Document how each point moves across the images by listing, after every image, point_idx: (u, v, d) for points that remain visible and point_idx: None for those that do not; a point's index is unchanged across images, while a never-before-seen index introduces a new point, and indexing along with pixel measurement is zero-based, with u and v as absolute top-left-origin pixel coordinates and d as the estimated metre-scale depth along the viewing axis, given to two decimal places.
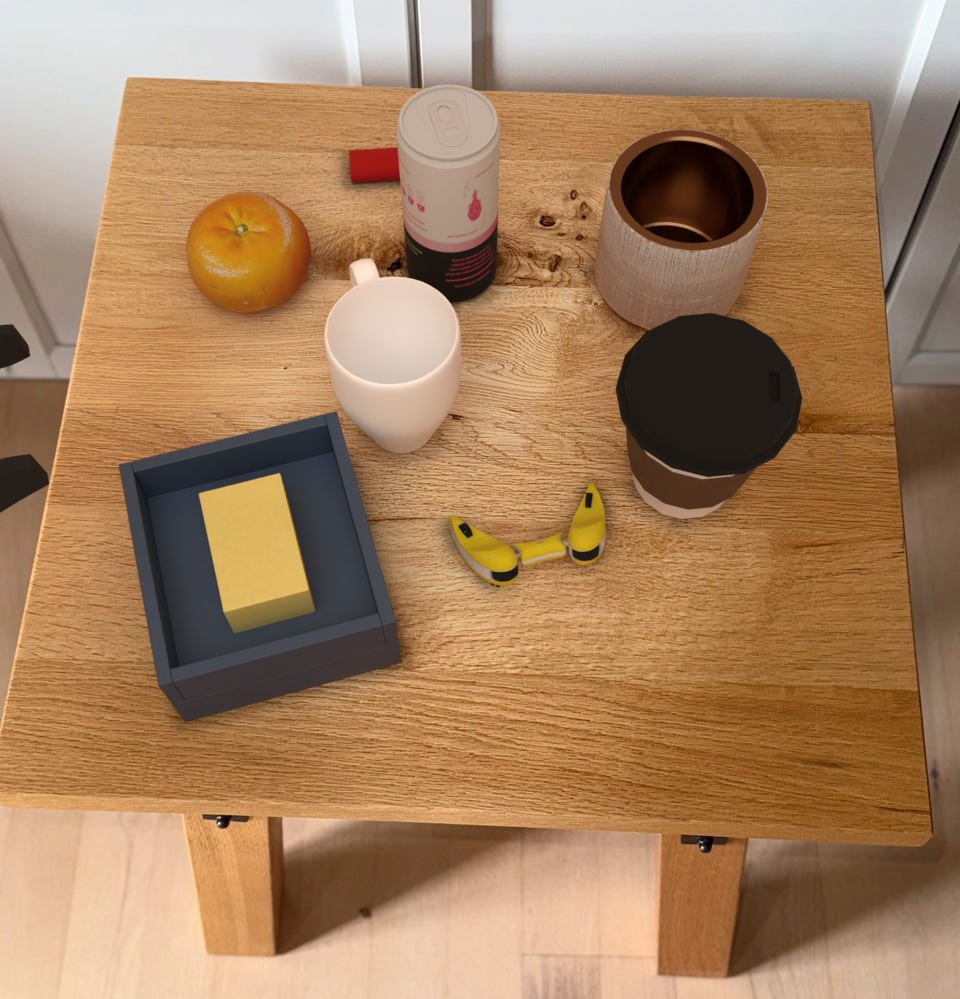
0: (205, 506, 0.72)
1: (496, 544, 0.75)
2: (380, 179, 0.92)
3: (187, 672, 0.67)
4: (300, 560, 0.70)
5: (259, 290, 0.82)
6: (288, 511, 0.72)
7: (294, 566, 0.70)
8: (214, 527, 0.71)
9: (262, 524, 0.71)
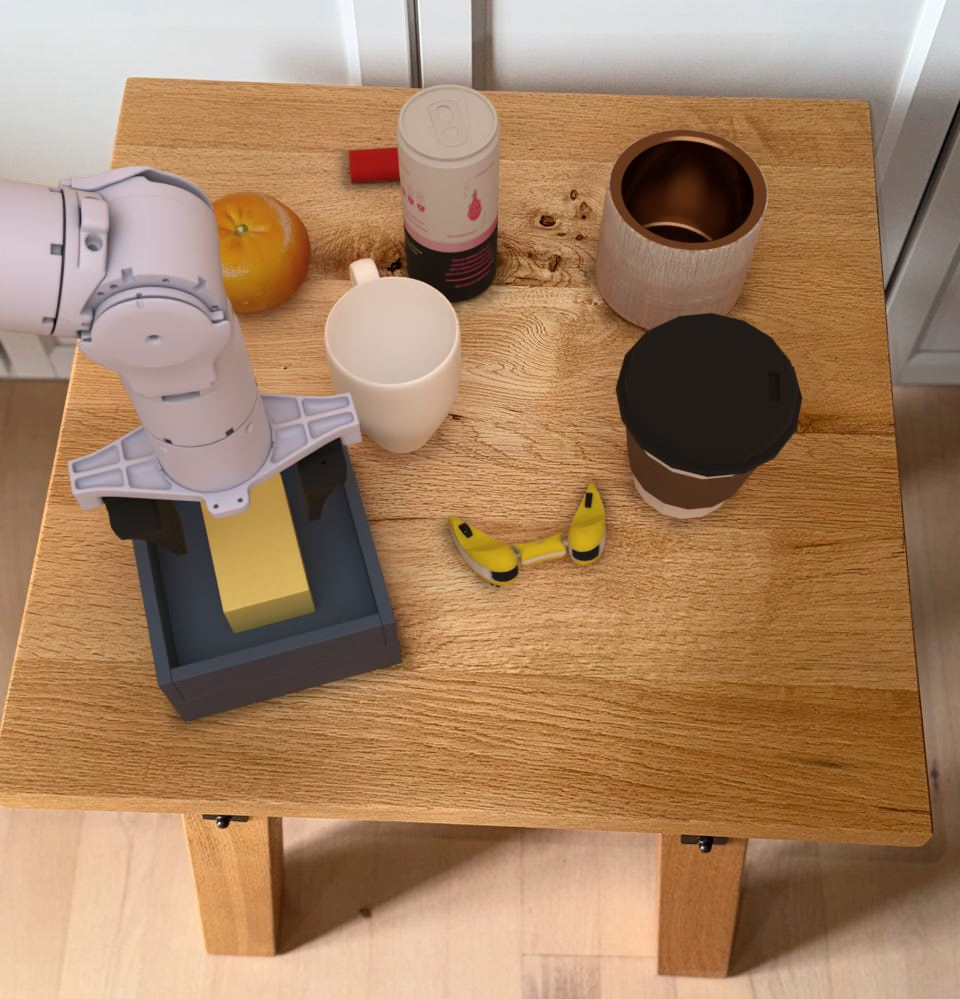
0: (205, 506, 0.72)
1: (496, 544, 0.75)
2: (380, 179, 0.92)
3: (187, 672, 0.67)
4: (300, 560, 0.70)
5: (259, 290, 0.82)
6: (288, 511, 0.72)
7: (294, 566, 0.70)
8: (214, 527, 0.71)
9: (262, 524, 0.71)
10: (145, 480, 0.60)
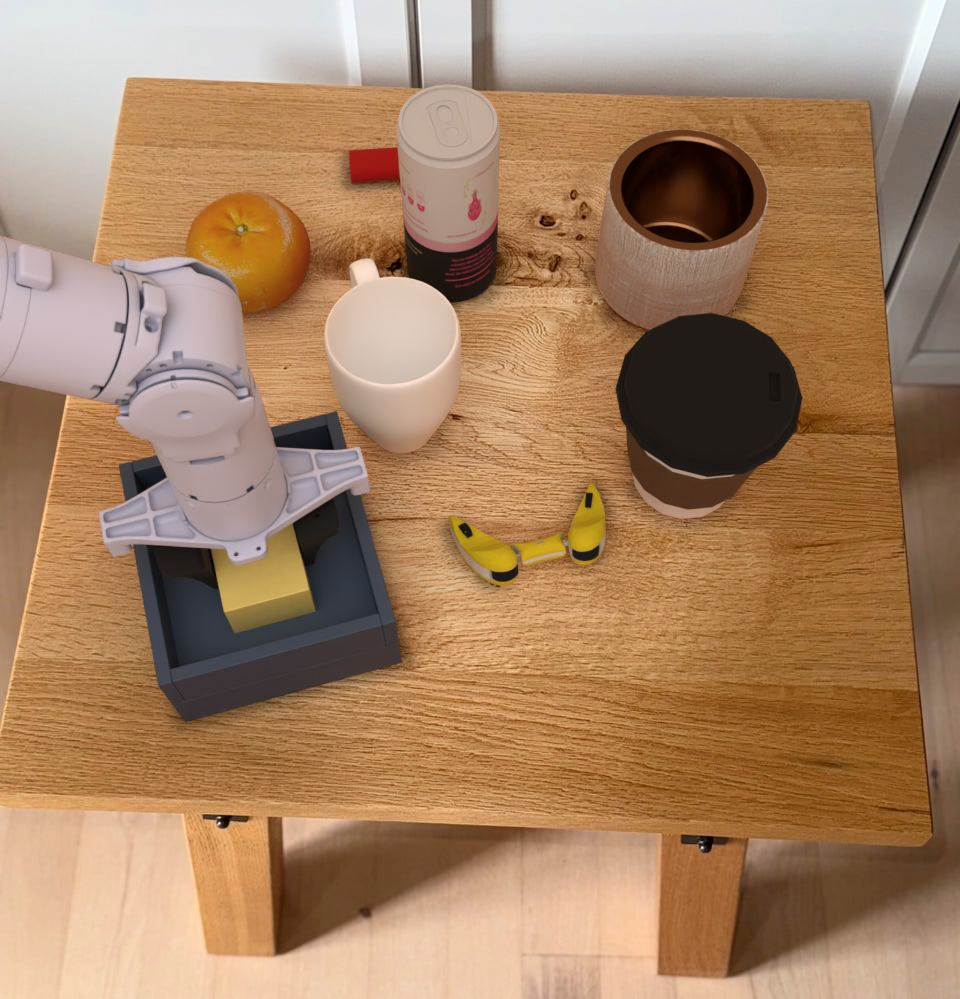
0: None
1: (496, 544, 0.75)
2: (380, 179, 0.92)
3: (187, 672, 0.67)
4: (300, 560, 0.70)
5: (259, 290, 0.82)
6: None
7: (295, 566, 0.70)
8: None
9: None
10: (170, 529, 0.65)
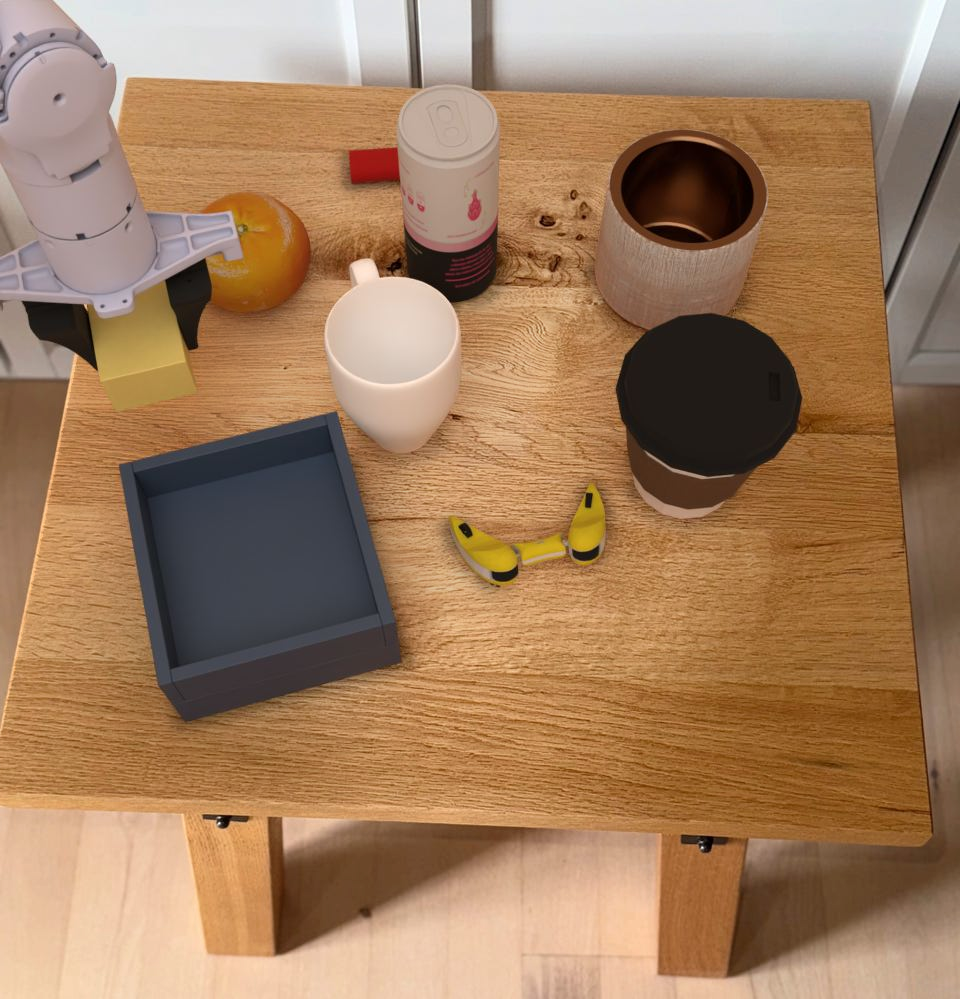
0: None
1: (496, 544, 0.75)
2: (380, 179, 0.92)
3: (187, 672, 0.67)
4: (179, 334, 0.71)
5: (259, 290, 0.82)
6: None
7: (172, 339, 0.70)
8: None
9: (142, 302, 0.72)
10: (39, 286, 0.65)
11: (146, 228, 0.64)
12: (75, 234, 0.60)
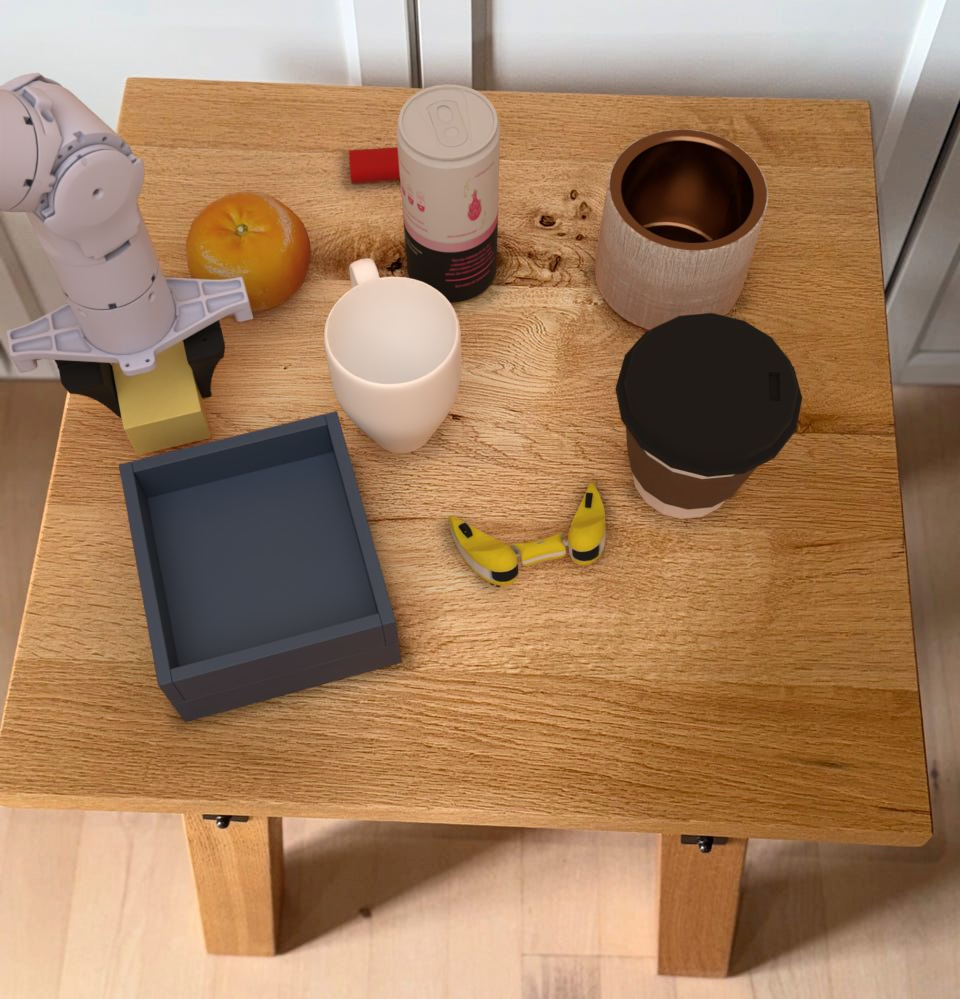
0: None
1: (496, 544, 0.75)
2: (380, 179, 0.92)
3: (187, 672, 0.67)
4: (194, 386, 0.78)
5: (259, 290, 0.82)
6: None
7: (189, 390, 0.78)
8: None
9: (161, 356, 0.79)
10: (70, 346, 0.73)
11: (166, 295, 0.71)
12: (107, 304, 0.68)
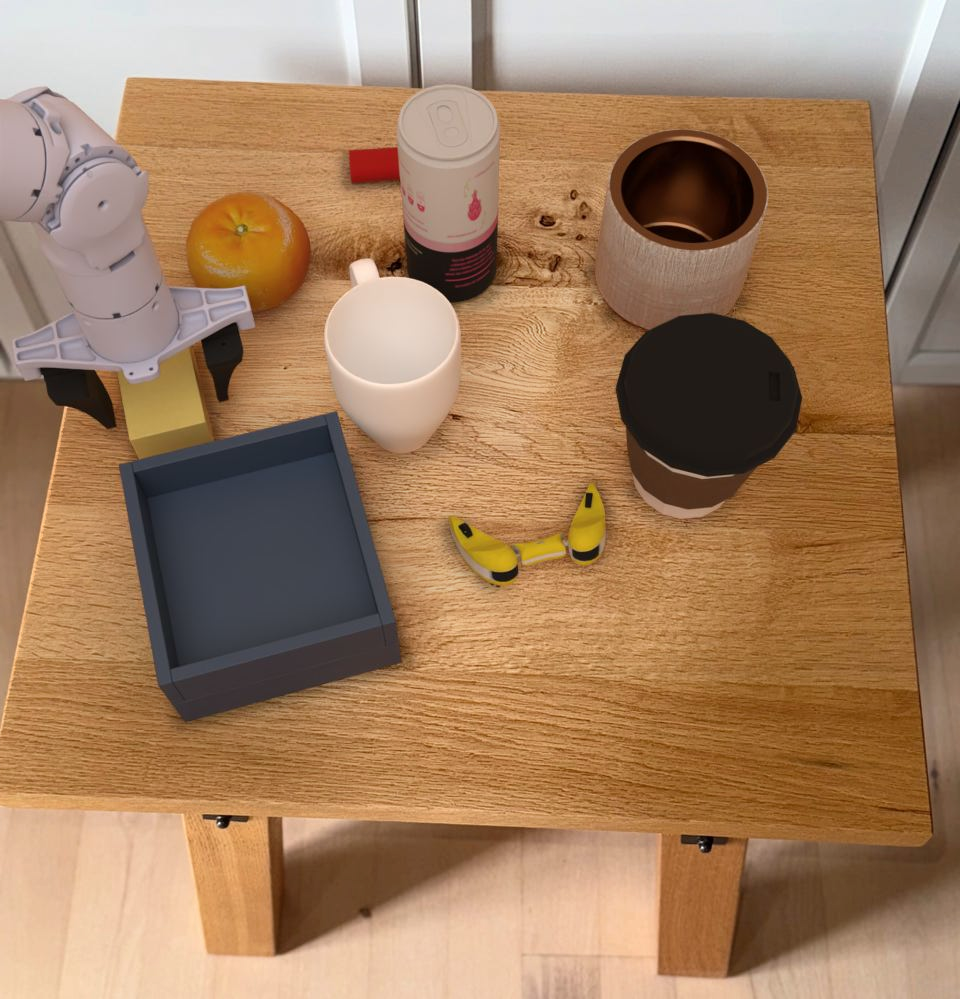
0: None
1: (496, 544, 0.75)
2: (380, 179, 0.92)
3: (187, 672, 0.67)
4: (199, 397, 0.79)
5: (259, 290, 0.82)
6: (190, 357, 0.81)
7: (193, 402, 0.79)
8: None
9: (166, 367, 0.80)
10: (75, 354, 0.74)
11: (170, 305, 0.72)
12: (112, 314, 0.69)
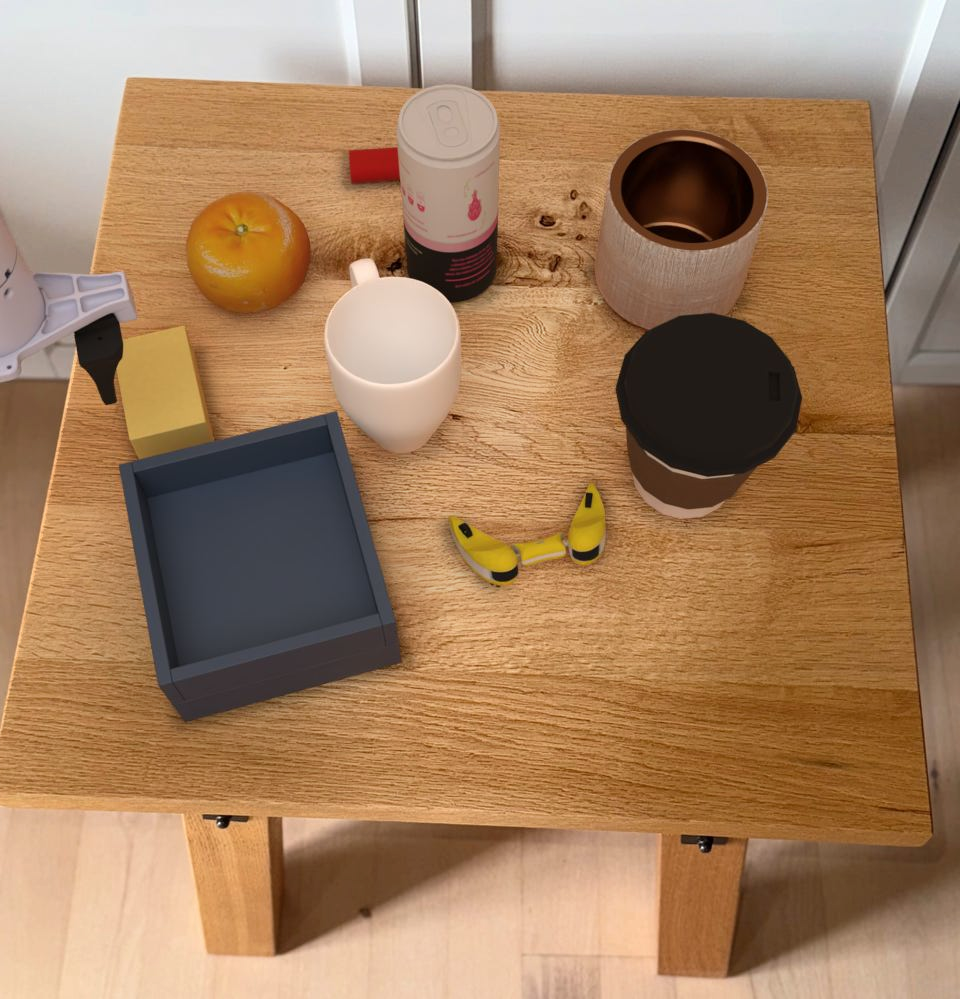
0: None
1: (496, 544, 0.75)
2: (380, 179, 0.92)
3: (187, 672, 0.67)
4: (199, 397, 0.79)
5: (259, 290, 0.82)
6: (190, 357, 0.81)
7: (193, 402, 0.79)
8: (123, 370, 0.80)
9: (166, 367, 0.80)
10: None
11: (30, 292, 0.62)
12: None
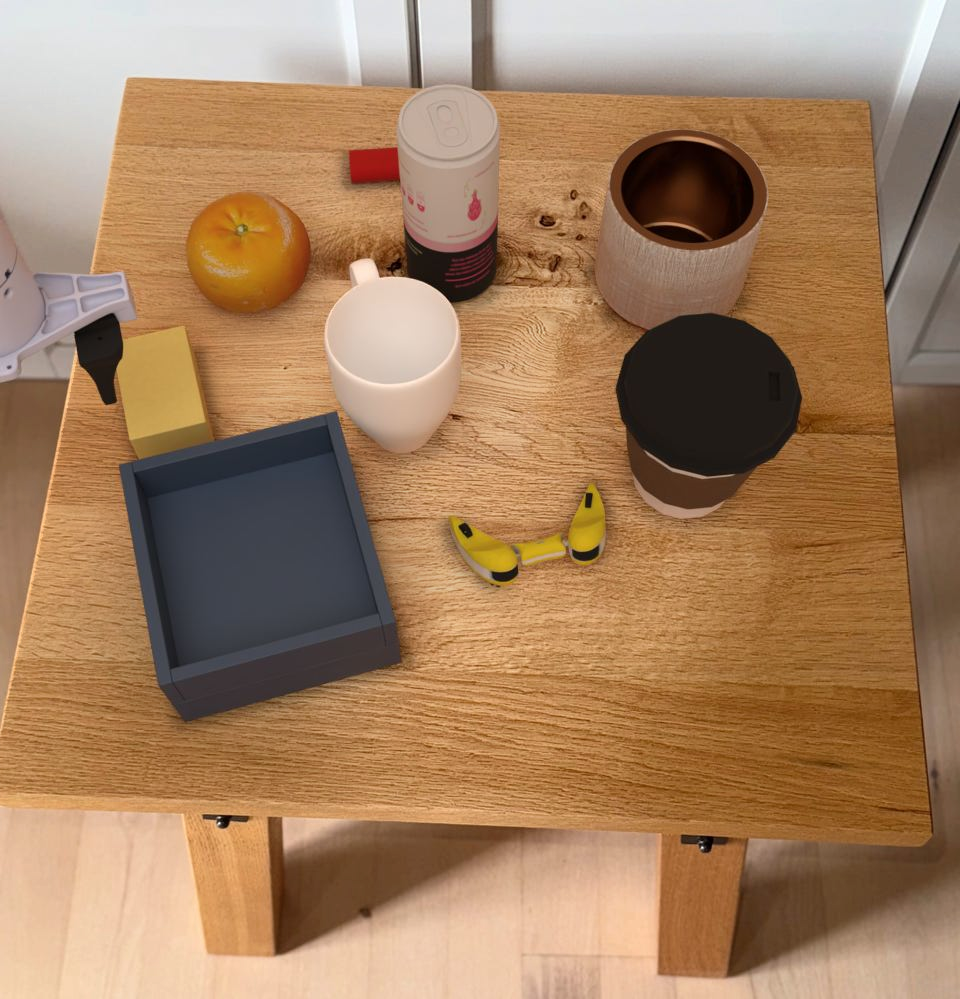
0: None
1: (496, 544, 0.75)
2: (380, 179, 0.92)
3: (187, 672, 0.67)
4: (199, 397, 0.79)
5: (259, 290, 0.82)
6: (190, 357, 0.81)
7: (193, 402, 0.79)
8: (123, 370, 0.80)
9: (166, 367, 0.80)
10: None
11: (30, 292, 0.62)
12: None
